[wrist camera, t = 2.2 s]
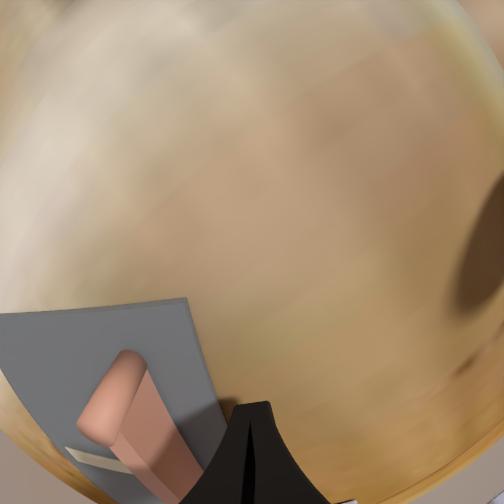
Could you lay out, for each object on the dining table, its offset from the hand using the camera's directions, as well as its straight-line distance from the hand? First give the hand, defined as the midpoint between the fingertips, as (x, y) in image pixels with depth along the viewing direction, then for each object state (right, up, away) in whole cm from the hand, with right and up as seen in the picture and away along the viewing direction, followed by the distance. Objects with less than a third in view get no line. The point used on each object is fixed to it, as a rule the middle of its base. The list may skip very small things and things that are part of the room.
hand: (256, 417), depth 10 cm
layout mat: (-9, -8, +4) cm, 12 cm away
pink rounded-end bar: (-4, -3, +2) cm, 6 cm away
